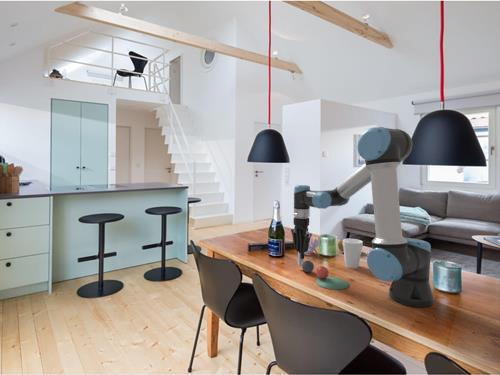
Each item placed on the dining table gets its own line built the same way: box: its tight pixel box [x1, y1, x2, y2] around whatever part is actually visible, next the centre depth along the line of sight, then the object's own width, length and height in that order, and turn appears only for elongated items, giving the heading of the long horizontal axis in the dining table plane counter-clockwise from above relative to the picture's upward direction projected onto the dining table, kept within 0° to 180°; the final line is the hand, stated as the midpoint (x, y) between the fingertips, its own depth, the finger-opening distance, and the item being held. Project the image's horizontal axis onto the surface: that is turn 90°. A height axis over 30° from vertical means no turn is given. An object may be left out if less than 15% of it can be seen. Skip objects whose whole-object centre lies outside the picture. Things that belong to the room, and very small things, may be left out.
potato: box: [337, 239, 344, 253], centre depth 179 cm, size 10×14×8 cm
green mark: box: [315, 276, 350, 291], centre depth 133 cm, size 14×14×1 cm
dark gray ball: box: [301, 260, 315, 273], centre depth 146 cm, size 6×6×6 cm
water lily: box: [304, 236, 321, 257], centre depth 174 cm, size 15×15×9 cm
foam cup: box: [342, 238, 364, 269], centre depth 154 cm, size 10×9×13 cm
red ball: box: [315, 265, 330, 279], centre depth 138 cm, size 6×6×6 cm
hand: (300, 264), depth 151 cm, fingers closed
